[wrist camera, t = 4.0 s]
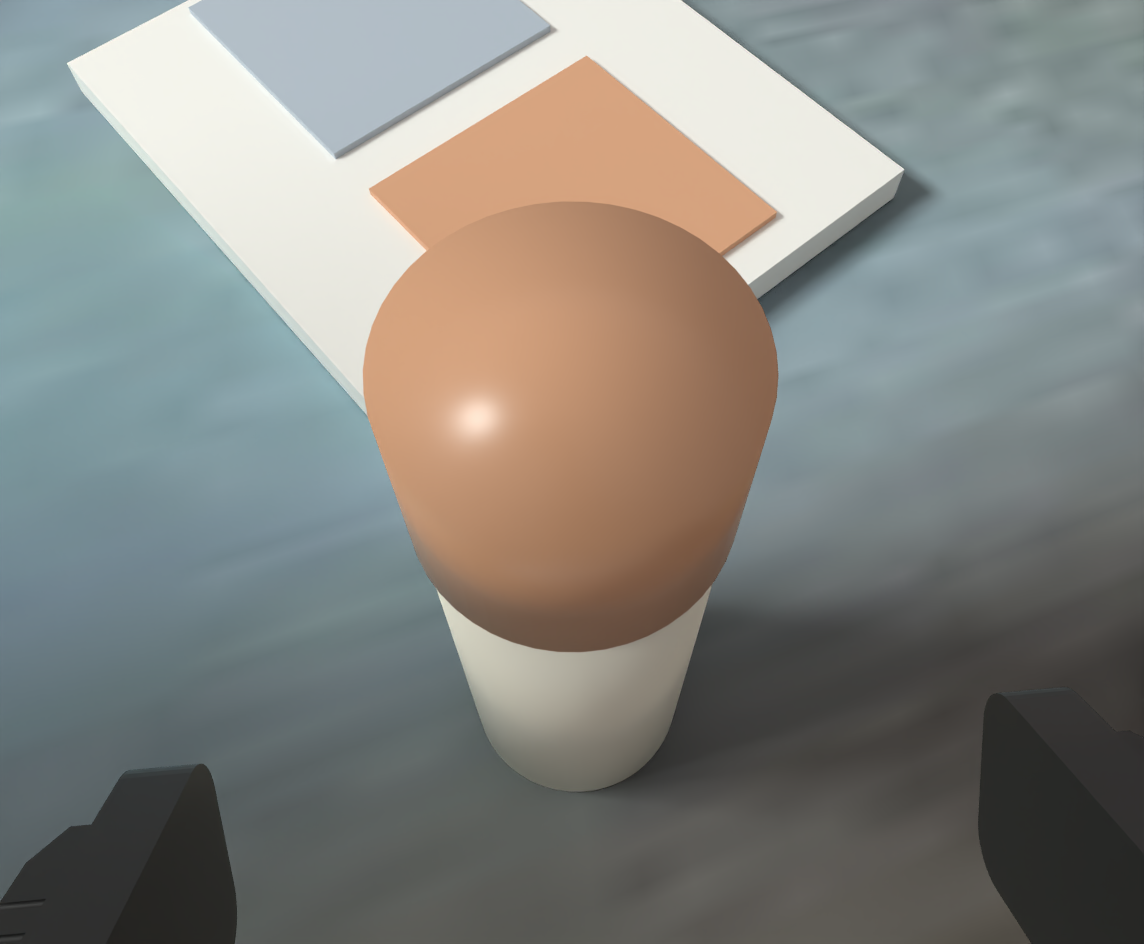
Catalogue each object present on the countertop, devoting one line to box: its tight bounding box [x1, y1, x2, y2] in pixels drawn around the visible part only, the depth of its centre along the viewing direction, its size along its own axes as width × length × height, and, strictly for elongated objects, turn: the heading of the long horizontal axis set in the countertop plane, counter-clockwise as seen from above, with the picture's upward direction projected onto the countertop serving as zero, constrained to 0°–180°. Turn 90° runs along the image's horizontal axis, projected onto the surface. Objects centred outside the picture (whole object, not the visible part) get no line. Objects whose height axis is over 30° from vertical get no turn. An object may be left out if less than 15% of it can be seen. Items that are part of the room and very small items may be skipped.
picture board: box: [67, 0, 904, 416], centre depth 28 cm, size 14×17×1 cm
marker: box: [363, 201, 778, 792], centre depth 16 cm, size 4×4×12 cm
